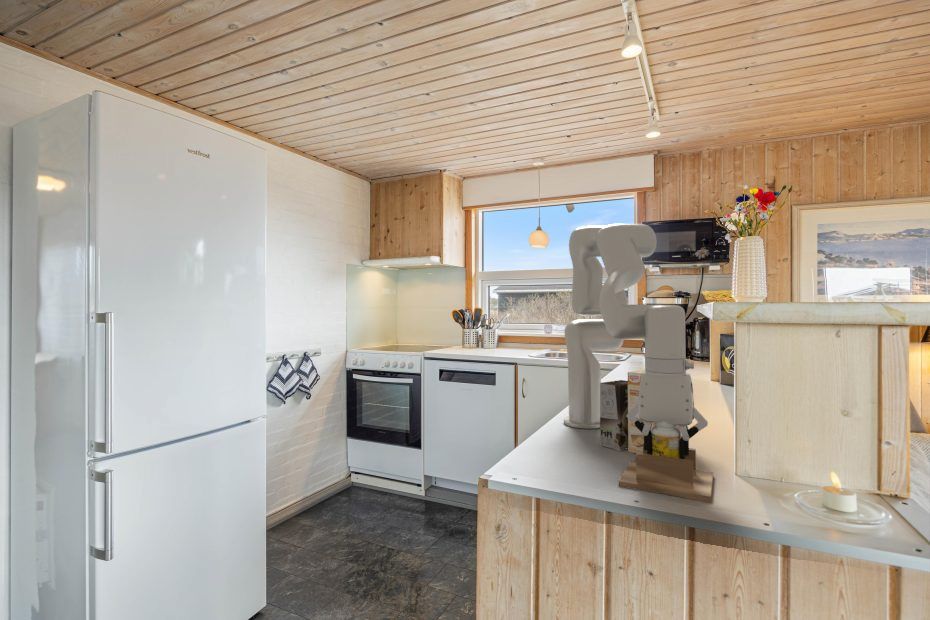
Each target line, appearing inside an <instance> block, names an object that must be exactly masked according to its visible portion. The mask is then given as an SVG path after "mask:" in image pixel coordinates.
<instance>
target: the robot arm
mask: <svg viewBox="0 0 930 620" xmlns="http://www.w3.org/2000/svg"><path fill="white" fill-rule="evenodd" d="M657 242H658V241H657V236H656V233H655V231H654V229H653V228H652V227H651V226H649V225H647V224H644V223H613V224H612V223H611V224H608V225H587V226H581V227H577V228H575V229H573V231H572V232H571V233H570V236H569V241H568V249H569V250H568V251H569V255H570V261H571V264H572V272H573V273H572V285H571V286H572V288H571V309H572V311H573V313H574V314H576V315H578V316H585V317H586V316H587V317H588V316H589V317H593V316H594V317H595V316H596V317H600V316H601V318H602V319H601V318H600V319H599V318H598V319H594V318H590V319H589V318H587V319H585V318H584V319H574V320H571V321H569V322H568V323H567V324H566V325H565V327H564V341H565V345H566V352H567V353H566V354H567V376H568V377H567V378H568V379H567V381H568V416H565V417H564V418H563V423H564V424H565V425H566V426H568V427H571V428H577V429H591V430H593V429H600V383H602V377H601V376H602V374H601V372H602V371H601V369H602V368H601V365H600V362H599V360H598V359H597V358H596V357H595V355H594V353H593V352H596V351H599V352H600V351H601V352H604V351H617V350H619V349H620V348H621V347H622V346H623V344H624V340H644V369H645V371H643V372H642V375H641V380H640V387H639V401H638V404H637V405H636V406H635V407H634V408H633V409H632V410H631V411H630V412H629V413H628V414H627V418H628V419H629V420H630V421H631V422H632V423H634V424H635V426H636V427H637V428H638V429H639V430H640V431H641V432H642V434H643V435H644V450H647V454H649V455H652V434H651V427H652V424H653V423H660V422H666V423H669V424H672V425H678V427H679V429H680V432H681V439H680V459H685V456H689V448H690V444H689V443H690V439H692V437H694V436H695V435H696V434H697V433H699V432H700V431H702V430H703V429H704V428H706V427H708V424H709V422H708V420H707V419H706V418H705V417H704V416H703V415H702V414H701V412H700V411H699V410H698V409H697V408H696V407H695V397H694V388H693V380H692V377H691V373H688V372H687V371H688V370H690V369H692V370H694V369H695V362H694V361H689V360H688V359H687V357H686V354H687V353H686V348H687V347H686V312H685V308H684V307H682V306H680V305H675V304H672V305H671V304H669V305H668V304H664V305H663V304H628V298H627V294H626V291H625V290H626V289H629V288H631V287H633V286H635V285H636V284H638V283H640V281H641V280H642V279H643V278H644V276H645V273H646V266H645V264H644V261H643V259H642V258H648V257H651V256H652V255H653V254H654V252H655V251H656V249H657ZM598 257H601V261H602V263H603V265H602V264H601V262H600V260H599V258H598ZM603 266H604V268H603ZM604 269H605V272H606V274H607V278H606V280H605V281H604V283H603V277H604V276H603V274H604ZM637 413H638V415H639V418H640V419H641V420H643V421H646V422H645V424H644V423H643V422H642V421H641V420H639V419H638V418H637V417H636V414H637ZM694 419H695V420H696V421H697V423H696V424H694V425H692V426H691V427H690V428H689V425H691V424H692V423H693V420H694Z"/></svg>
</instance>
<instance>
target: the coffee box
mask: <svg viewBox="0 0 930 620" xmlns="http://www.w3.org/2000/svg"><path fill="white" fill-rule="evenodd" d="M627 414H628V380H623V379H619V380H613V381H606V382H605V381H603V382H601V383H600V428H599V437H600V438H599V445H600V446H603V447H606V448H609V449H612V450H615V451H619V452H620V451H621V452H622V451H624V450H628V418H627Z"/></svg>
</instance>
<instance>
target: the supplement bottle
mask: <svg viewBox="0 0 930 620" xmlns="http://www.w3.org/2000/svg"><path fill="white" fill-rule="evenodd" d="M655 424H656V426H655V427H653V428H652V432H651V434H652V455H656V456H664V457H671V458H678V459H680V439H681V436H682V435H680V431H679V430H678V429H677V428H675V426H676V425H672V424H669V423H666V422H660V423H655Z"/></svg>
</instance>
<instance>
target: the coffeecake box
mask: <svg viewBox="0 0 930 620" xmlns="http://www.w3.org/2000/svg"><path fill="white" fill-rule="evenodd" d="M643 371H645V368H643V369H638V370H633V371H628V372H627V381H628V413H629V412H630V411H631V410H632V409H633V408H634V407H635V406H636V405H637V404H638V401H639V387H640V380H641V375H642V372H643ZM636 417H637V418H638V419H639V420H641V419H640V418H639V415H638V413H637V414H636ZM641 421H642V422H643V423H644V424H645V422H646V421H643V420H641ZM655 426H656V424H655V423H653V424H652V427H651V432H652V428H653V427H655ZM675 428H677V429H678V430H679V431H680V429H679V427H678V425H676V426H675ZM680 435H681V432H680ZM681 436H682V435H681ZM643 443H644V435H643V434H642V432H641V431H640V430H639V429H638V428H637V427H636V426H635V424H634V423H632V422H631V421H630V420H629V419H628V449H627V452H629V453H632V454H633V453H634V454H635V455H636V454H637V453H642V454H643Z"/></svg>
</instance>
